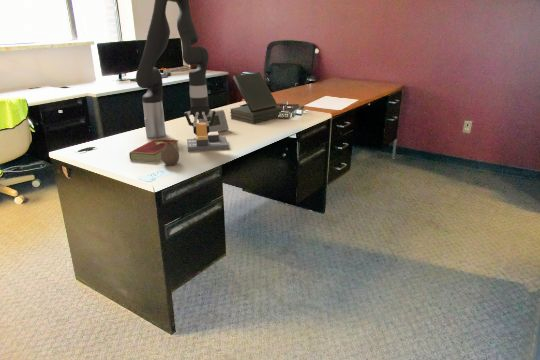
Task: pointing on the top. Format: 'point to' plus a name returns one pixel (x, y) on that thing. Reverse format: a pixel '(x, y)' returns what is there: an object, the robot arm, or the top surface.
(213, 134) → the block
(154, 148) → the hardcover book
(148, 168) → the top surface
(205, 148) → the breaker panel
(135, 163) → the top surface
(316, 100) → the top surface
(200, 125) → the orange rectangular block
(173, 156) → the vase
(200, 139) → the block
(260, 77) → the angled tablet stand
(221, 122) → the digital clock
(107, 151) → the top surface
